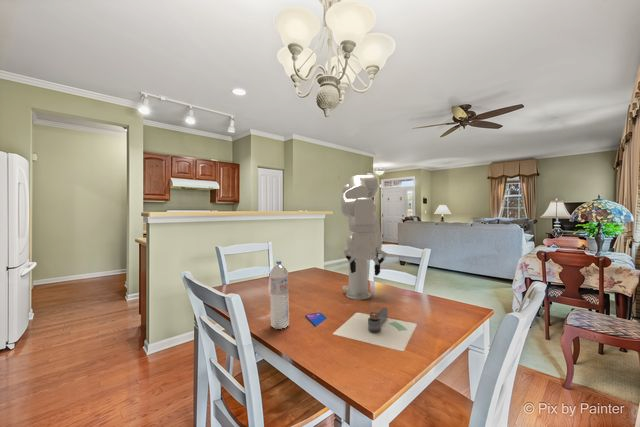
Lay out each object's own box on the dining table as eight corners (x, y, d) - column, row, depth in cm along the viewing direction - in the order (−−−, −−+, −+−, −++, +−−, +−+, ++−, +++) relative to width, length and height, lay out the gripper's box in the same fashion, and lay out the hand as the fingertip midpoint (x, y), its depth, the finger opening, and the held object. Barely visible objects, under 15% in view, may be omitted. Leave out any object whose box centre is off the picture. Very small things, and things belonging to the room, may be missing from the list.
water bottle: (274, 331, 98) (272, 263, 98) (268, 324, 104) (267, 260, 104) (291, 327, 102) (290, 261, 101) (285, 321, 108) (284, 258, 107)
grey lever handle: (378, 333, 91) (378, 317, 91) (366, 330, 94) (366, 314, 94) (390, 317, 105) (390, 303, 105) (379, 315, 107) (379, 301, 107)
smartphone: (318, 330, 99) (304, 314, 112) (318, 332, 99) (304, 317, 112) (336, 326, 101) (320, 312, 115) (336, 328, 101) (320, 314, 115)
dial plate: (332, 338, 93) (332, 333, 93) (356, 315, 112) (356, 311, 112) (403, 356, 81) (403, 350, 81) (417, 327, 100) (417, 323, 100)
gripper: (340, 229, 106) (340, 273, 106) (383, 230, 97) (384, 277, 97) (347, 228, 112) (348, 269, 112) (389, 229, 104) (389, 273, 104)
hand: (365, 273), depth 105 cm, fingers open, 9 cm apart
